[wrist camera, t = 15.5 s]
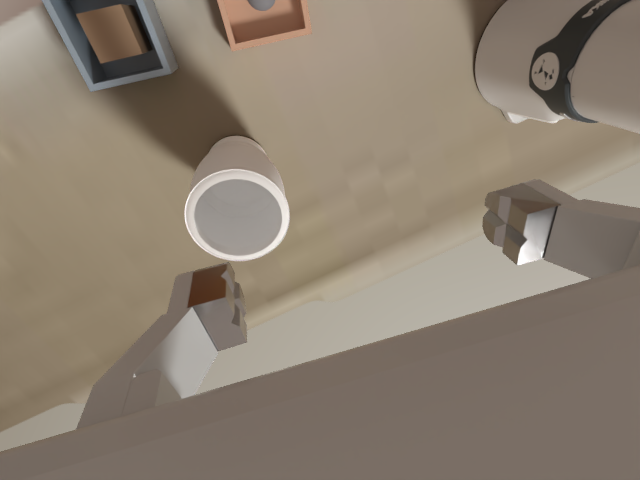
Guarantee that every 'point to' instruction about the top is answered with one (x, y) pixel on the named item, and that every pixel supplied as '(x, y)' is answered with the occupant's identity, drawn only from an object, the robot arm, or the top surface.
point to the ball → (261, 4)
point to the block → (115, 32)
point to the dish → (263, 22)
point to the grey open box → (160, 61)
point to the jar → (237, 202)
